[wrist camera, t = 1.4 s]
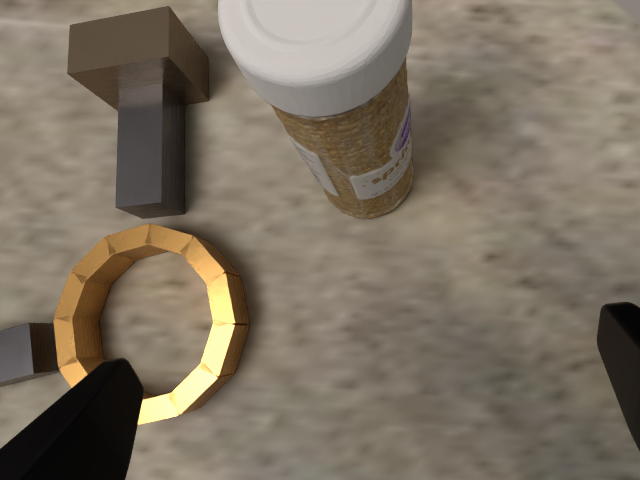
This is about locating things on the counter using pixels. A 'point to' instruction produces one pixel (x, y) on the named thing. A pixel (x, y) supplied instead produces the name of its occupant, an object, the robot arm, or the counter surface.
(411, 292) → the counter surface
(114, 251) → the coupling jig
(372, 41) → the sprinkles bottle
